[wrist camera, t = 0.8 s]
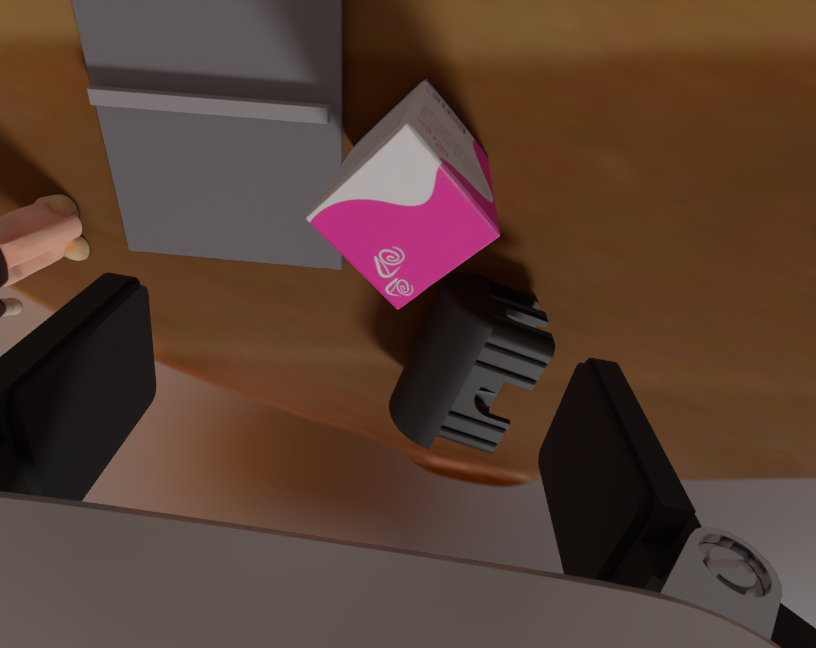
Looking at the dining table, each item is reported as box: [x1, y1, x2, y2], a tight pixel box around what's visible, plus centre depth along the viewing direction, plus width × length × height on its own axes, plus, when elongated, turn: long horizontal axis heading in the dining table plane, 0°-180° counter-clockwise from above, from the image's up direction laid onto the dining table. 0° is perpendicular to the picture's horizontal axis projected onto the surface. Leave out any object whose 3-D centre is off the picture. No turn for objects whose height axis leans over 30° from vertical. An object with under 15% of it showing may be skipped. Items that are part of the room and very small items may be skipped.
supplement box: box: [306, 79, 500, 309], centre depth 25 cm, size 6×6×12 cm
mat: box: [72, 0, 343, 270], centre depth 29 cm, size 14×19×2 cm
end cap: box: [389, 273, 555, 453], centre depth 33 cm, size 10×7×7 cm
